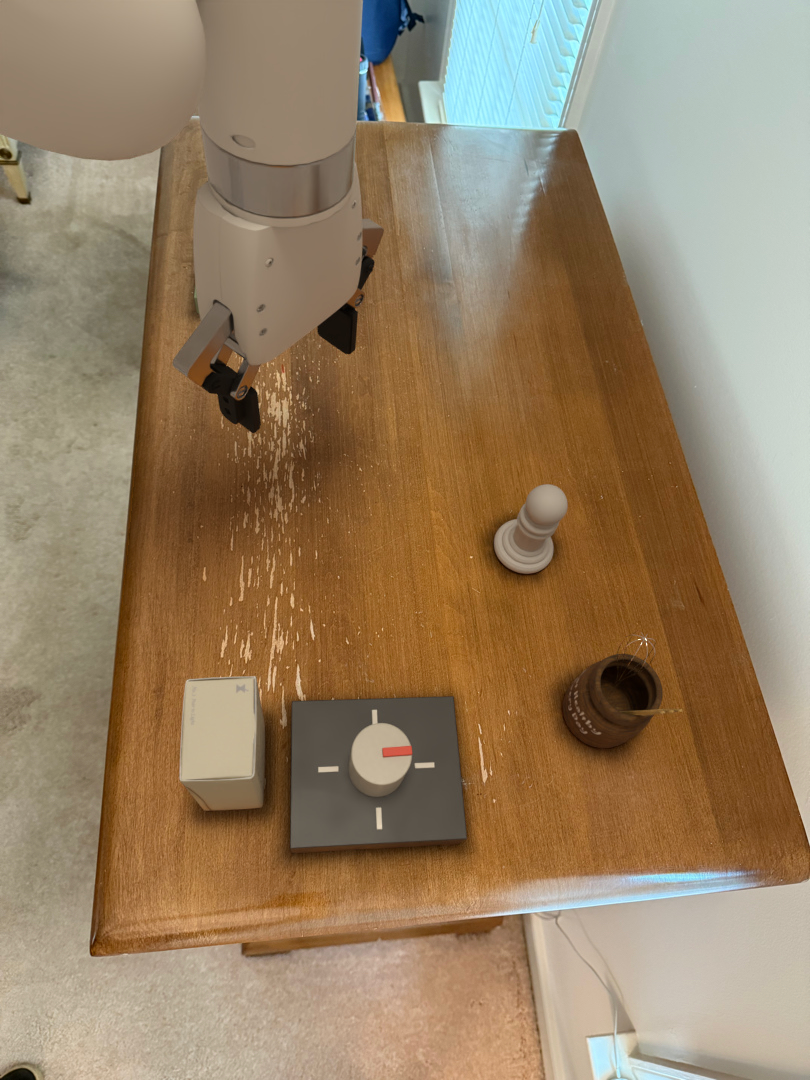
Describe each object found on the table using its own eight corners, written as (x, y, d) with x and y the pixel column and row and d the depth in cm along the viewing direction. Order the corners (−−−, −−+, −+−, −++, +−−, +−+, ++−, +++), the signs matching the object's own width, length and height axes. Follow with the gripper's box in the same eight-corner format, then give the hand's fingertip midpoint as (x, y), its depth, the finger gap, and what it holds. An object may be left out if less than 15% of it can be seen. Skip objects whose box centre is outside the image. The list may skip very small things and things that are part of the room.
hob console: (291, 853, 51) (289, 848, 49) (292, 712, 56) (291, 700, 53) (459, 844, 53) (467, 838, 50) (447, 707, 58) (454, 695, 55)
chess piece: (537, 516, 67) (566, 460, 59) (561, 567, 65) (595, 515, 57) (483, 530, 66) (506, 474, 58) (506, 582, 63) (533, 531, 56)
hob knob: (350, 799, 51) (353, 786, 46) (346, 741, 53) (349, 723, 48) (407, 794, 51) (415, 781, 47) (402, 736, 53) (409, 719, 49)
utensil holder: (621, 673, 61) (685, 616, 50) (642, 750, 58) (715, 707, 47) (552, 680, 60) (603, 624, 49) (571, 759, 57) (629, 717, 46)
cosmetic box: (207, 726, 55) (182, 674, 44) (268, 723, 56) (257, 671, 45) (203, 815, 52) (174, 782, 41) (266, 811, 53) (255, 778, 42)
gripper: (338, 57, 42) (332, 291, 57) (91, 194, 34) (159, 421, 49) (442, 118, 40) (407, 342, 55) (206, 276, 33) (240, 486, 47)
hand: (290, 379), depth 52 cm, fingers open, 9 cm apart
